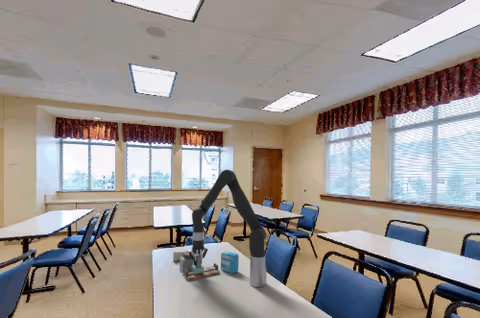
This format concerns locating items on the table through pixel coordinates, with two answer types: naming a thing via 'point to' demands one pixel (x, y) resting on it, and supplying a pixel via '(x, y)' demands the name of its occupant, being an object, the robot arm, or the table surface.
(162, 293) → the table surface
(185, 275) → the rail base
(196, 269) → the carriage
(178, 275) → the table surface
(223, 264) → the data package
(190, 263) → the grey dispenser housing
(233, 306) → the table surface
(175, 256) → the model
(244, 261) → the table surface
